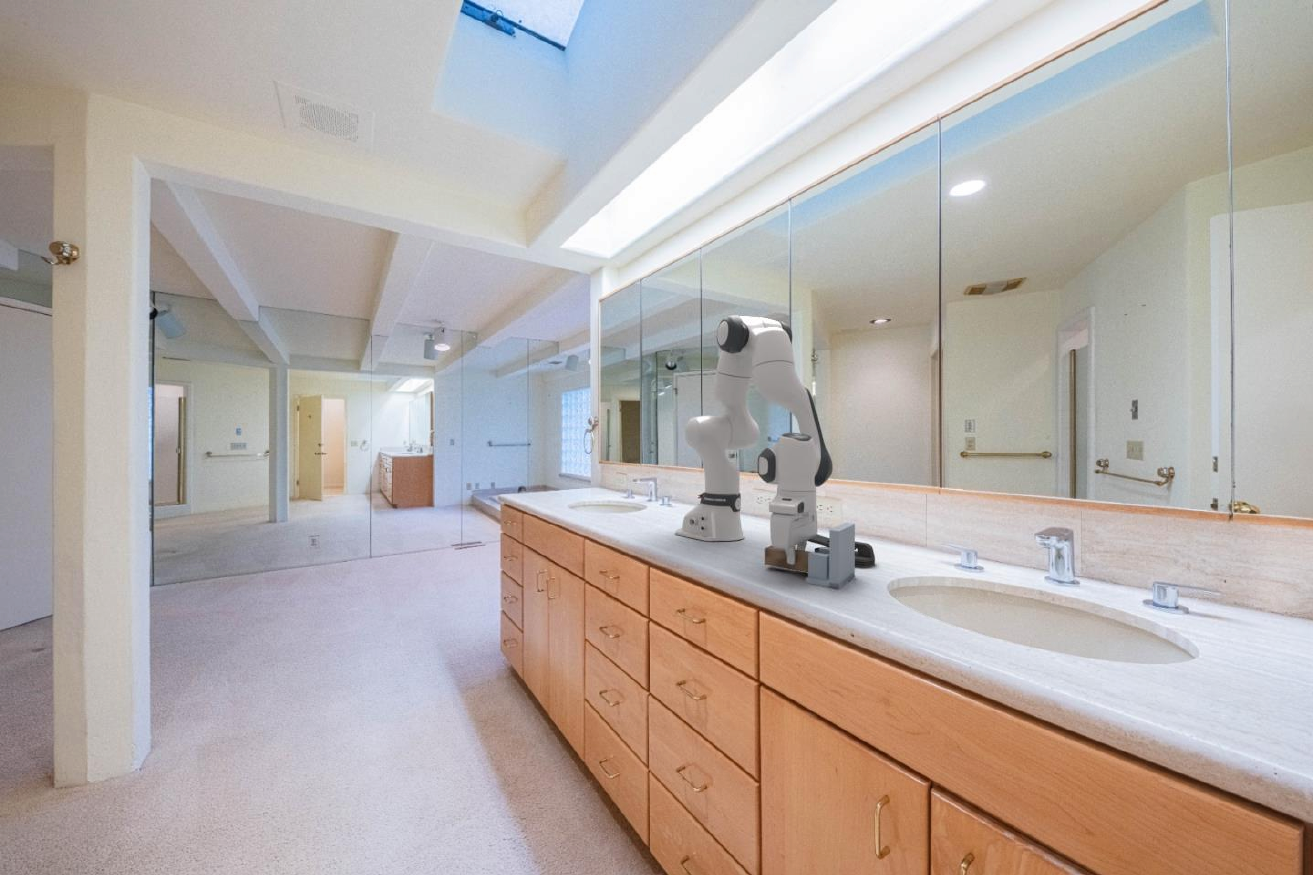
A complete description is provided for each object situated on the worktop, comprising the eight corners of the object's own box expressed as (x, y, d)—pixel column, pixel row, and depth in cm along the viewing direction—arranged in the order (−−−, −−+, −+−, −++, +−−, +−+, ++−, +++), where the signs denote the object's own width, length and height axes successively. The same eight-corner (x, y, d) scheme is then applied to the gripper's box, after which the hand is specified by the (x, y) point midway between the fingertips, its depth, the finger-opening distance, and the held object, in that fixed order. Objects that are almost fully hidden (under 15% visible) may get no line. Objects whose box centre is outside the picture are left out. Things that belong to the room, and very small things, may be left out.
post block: (805, 582, 99) (805, 527, 99) (823, 570, 109) (823, 520, 109) (838, 589, 95) (839, 531, 95) (854, 576, 104) (854, 523, 105)
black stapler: (788, 524, 134) (879, 537, 117) (788, 547, 134) (879, 563, 117) (773, 528, 128) (867, 542, 110) (773, 552, 127) (867, 570, 110)
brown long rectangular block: (764, 564, 110) (764, 548, 110) (770, 561, 113) (770, 545, 113) (823, 575, 101) (824, 557, 101) (828, 572, 104) (829, 554, 104)
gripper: (799, 497, 117) (798, 551, 117) (765, 505, 101) (764, 568, 101) (824, 499, 113) (823, 555, 113) (793, 507, 97) (792, 573, 97)
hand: (795, 561), depth 107 cm, fingers closed on brown long rectangular block, 3 cm apart
